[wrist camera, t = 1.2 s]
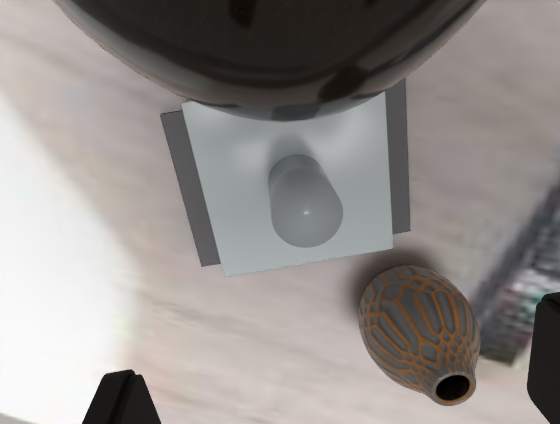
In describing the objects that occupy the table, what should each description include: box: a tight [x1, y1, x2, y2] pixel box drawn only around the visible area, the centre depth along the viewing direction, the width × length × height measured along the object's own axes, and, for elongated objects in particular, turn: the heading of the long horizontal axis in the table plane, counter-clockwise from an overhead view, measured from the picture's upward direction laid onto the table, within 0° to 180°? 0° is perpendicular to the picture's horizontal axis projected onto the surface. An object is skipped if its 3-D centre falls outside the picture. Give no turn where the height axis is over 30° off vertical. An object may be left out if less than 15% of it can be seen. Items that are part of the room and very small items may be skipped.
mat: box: [160, 78, 410, 267], centre depth 24 cm, size 14×10×1 cm
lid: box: [181, 91, 393, 277], centre depth 21 cm, size 11×11×6 cm
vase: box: [359, 265, 480, 406], centre depth 24 cm, size 7×7×9 cm
